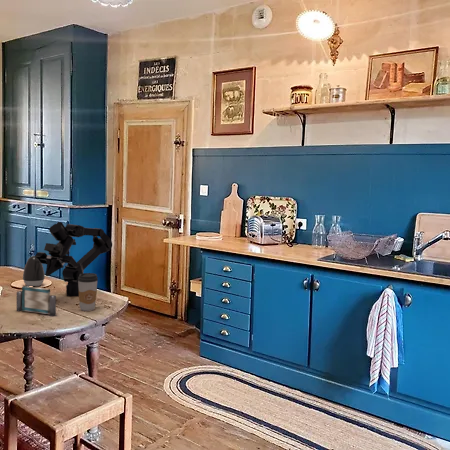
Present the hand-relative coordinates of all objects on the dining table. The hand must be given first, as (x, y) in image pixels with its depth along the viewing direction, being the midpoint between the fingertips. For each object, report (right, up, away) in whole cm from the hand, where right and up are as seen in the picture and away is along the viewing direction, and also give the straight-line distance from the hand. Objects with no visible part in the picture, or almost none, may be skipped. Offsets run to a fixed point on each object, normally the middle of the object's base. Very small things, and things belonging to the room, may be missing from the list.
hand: (46, 275), depth 205 cm
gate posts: (0, -14, -11) cm, 18 cm away
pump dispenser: (-19, -9, +32) cm, 38 cm away
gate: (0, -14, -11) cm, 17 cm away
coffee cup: (+18, -14, -2) cm, 23 cm away
